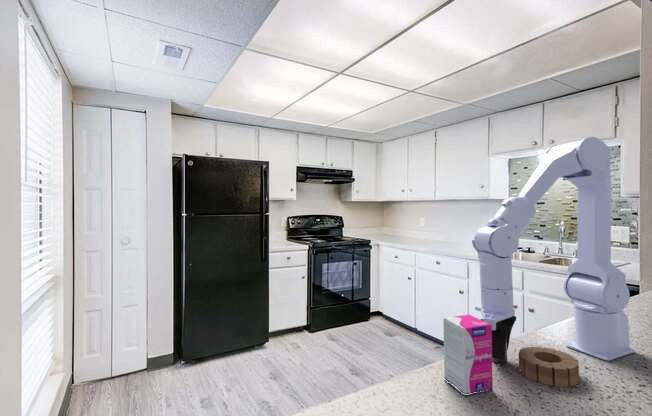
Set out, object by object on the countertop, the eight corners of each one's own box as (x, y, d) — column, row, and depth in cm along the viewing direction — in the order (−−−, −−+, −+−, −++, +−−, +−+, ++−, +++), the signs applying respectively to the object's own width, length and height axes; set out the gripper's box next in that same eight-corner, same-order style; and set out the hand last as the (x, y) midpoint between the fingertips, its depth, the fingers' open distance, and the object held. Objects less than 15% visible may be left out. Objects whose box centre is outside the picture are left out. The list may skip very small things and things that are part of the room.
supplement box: (465, 398, 54) (463, 328, 54) (443, 380, 59) (441, 317, 59) (495, 391, 55) (492, 323, 55) (470, 374, 61) (468, 313, 61)
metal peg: (498, 357, 67) (497, 328, 67) (510, 363, 64) (509, 333, 64) (488, 360, 66) (487, 330, 66) (500, 366, 63) (499, 335, 63)
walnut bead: (541, 358, 66) (540, 343, 66) (591, 379, 58) (590, 362, 58) (508, 367, 63) (508, 352, 63) (556, 391, 54) (555, 373, 54)
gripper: (483, 277, 74) (486, 338, 73) (464, 292, 62) (467, 363, 62) (519, 281, 69) (522, 345, 69) (506, 297, 58) (509, 374, 58)
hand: (499, 354), depth 65 cm, fingers closed on metal peg, 3 cm apart
